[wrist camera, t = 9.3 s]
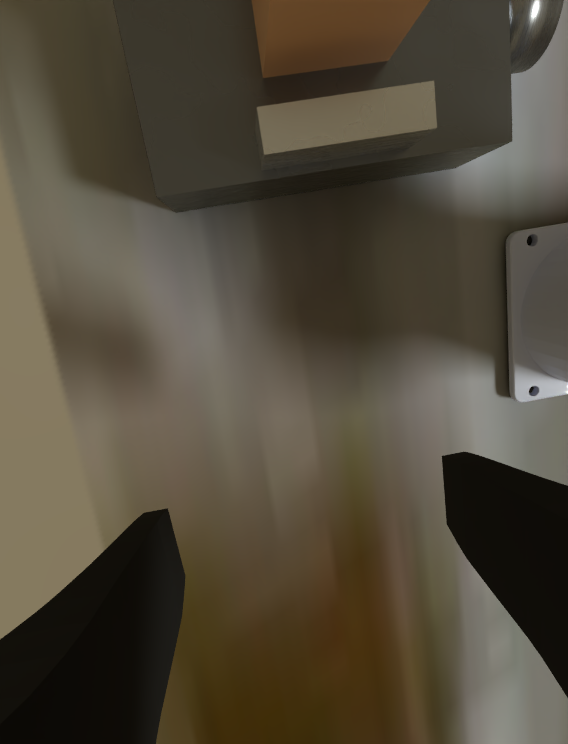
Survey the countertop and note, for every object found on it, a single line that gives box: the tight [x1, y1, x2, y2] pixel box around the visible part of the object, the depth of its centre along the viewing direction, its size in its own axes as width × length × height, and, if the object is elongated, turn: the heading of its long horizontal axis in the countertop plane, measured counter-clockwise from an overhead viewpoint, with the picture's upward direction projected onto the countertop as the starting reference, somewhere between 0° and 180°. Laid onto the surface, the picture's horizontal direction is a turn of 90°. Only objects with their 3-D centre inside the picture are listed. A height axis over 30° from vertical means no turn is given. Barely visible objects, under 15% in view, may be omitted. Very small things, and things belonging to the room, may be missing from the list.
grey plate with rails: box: [113, 0, 564, 212], centre depth 14 cm, size 14×9×6 cm, turn 99°
